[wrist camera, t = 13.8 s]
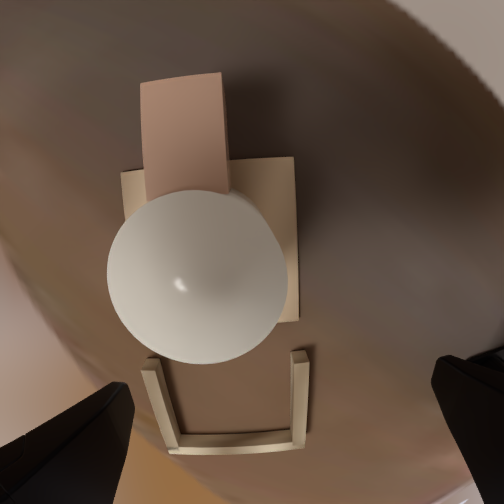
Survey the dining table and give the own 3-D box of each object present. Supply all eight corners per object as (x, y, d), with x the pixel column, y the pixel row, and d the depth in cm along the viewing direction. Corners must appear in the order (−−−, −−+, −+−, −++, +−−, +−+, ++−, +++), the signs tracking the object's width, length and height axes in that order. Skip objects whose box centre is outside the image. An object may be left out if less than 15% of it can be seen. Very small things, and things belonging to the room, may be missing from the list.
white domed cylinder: (271, 294, 19) (289, 358, 12) (161, 300, 19) (127, 363, 12) (261, 106, 16) (276, 65, 9) (142, 118, 16) (89, 90, 9)
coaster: (292, 157, 17) (293, 156, 17) (297, 318, 20) (298, 320, 19) (122, 172, 17) (120, 172, 17) (145, 327, 19) (144, 329, 19)
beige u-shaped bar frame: (304, 350, 20) (309, 362, 19) (301, 435, 23) (304, 447, 21) (146, 358, 20) (140, 370, 19) (172, 441, 22) (169, 453, 21)
